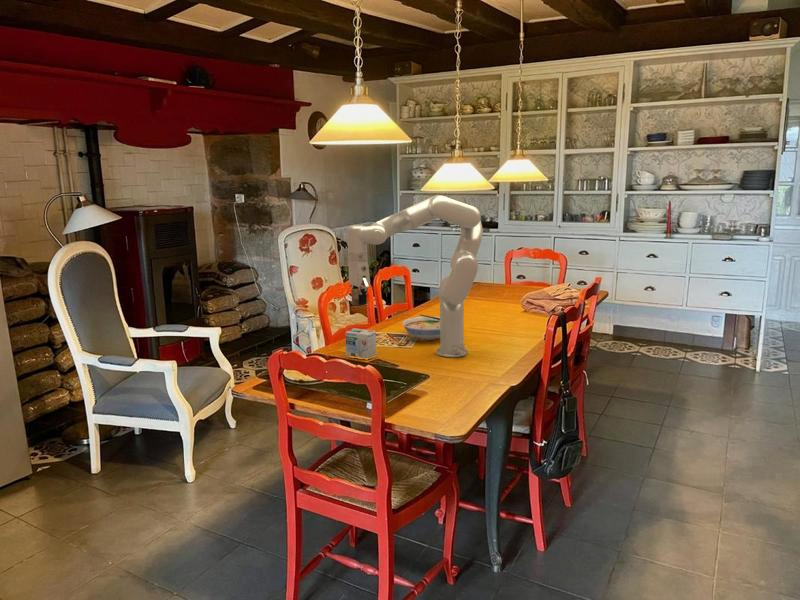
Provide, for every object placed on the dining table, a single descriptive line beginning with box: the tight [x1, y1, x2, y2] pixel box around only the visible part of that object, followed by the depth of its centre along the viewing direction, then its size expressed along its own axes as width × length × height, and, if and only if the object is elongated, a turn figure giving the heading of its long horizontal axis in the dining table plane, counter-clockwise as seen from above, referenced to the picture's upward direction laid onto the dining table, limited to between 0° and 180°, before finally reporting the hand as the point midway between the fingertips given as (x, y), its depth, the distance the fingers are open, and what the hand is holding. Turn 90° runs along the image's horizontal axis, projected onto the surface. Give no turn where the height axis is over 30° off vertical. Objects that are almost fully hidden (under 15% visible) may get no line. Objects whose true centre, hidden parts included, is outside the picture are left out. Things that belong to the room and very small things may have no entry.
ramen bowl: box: [401, 314, 440, 341], centre depth 261 cm, size 25×23×8 cm
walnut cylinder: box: [351, 288, 367, 307], centre depth 232 cm, size 6×6×6 cm
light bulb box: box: [344, 327, 377, 358], centre depth 236 cm, size 11×7×11 cm, turn 62°
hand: (359, 302), depth 233 cm, fingers closed on walnut cylinder, 5 cm apart
